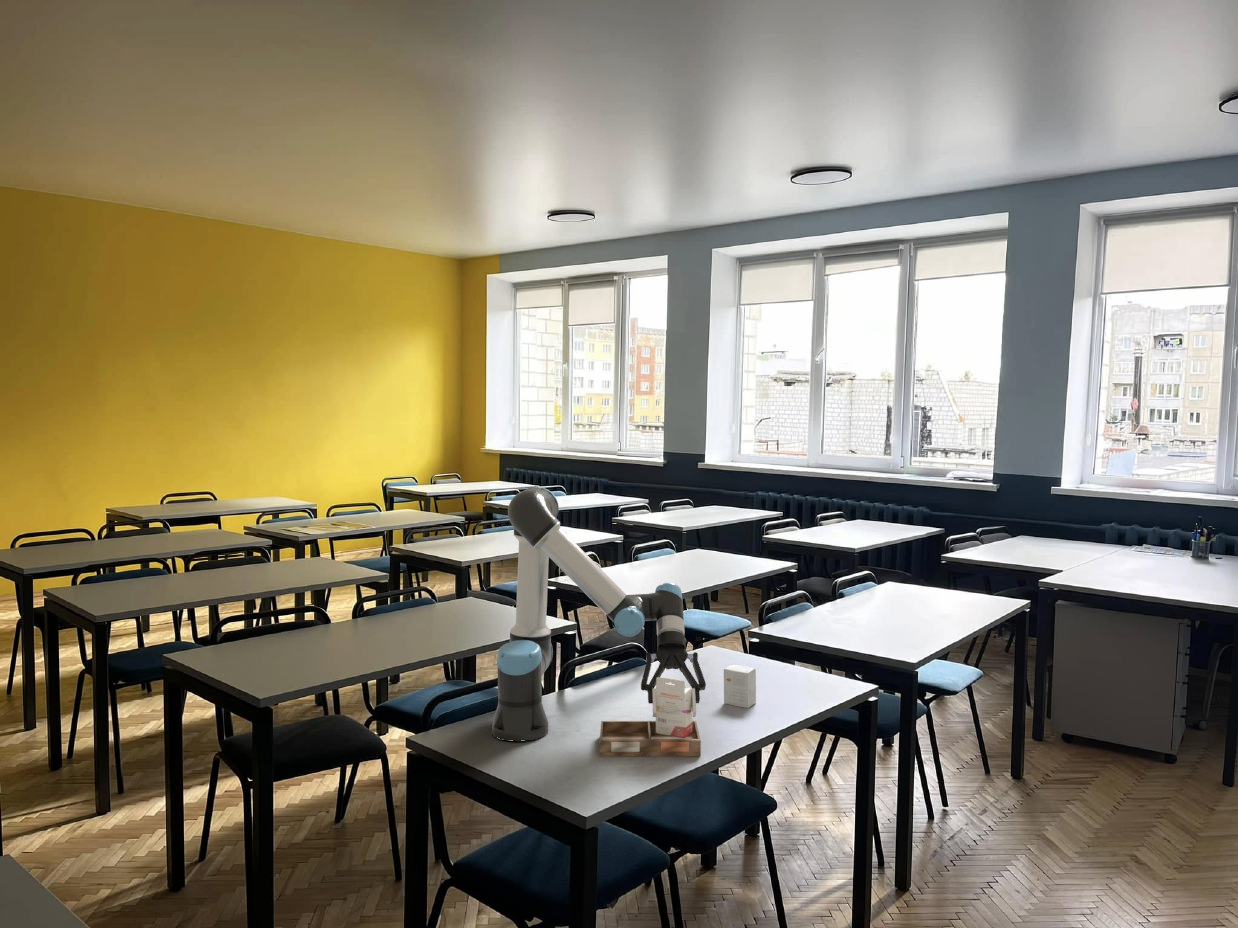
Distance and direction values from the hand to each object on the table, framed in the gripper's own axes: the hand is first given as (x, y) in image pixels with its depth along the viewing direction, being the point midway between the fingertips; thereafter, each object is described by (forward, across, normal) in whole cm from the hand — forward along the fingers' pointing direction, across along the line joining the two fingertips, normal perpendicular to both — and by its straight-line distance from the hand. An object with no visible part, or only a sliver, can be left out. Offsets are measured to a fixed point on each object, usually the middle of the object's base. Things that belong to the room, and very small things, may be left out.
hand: (674, 714), depth 212 cm
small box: (-18, -21, -31) cm, 42 cm away
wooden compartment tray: (+4, +6, -8) cm, 12 cm away
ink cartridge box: (+2, 0, -7) cm, 7 cm away
